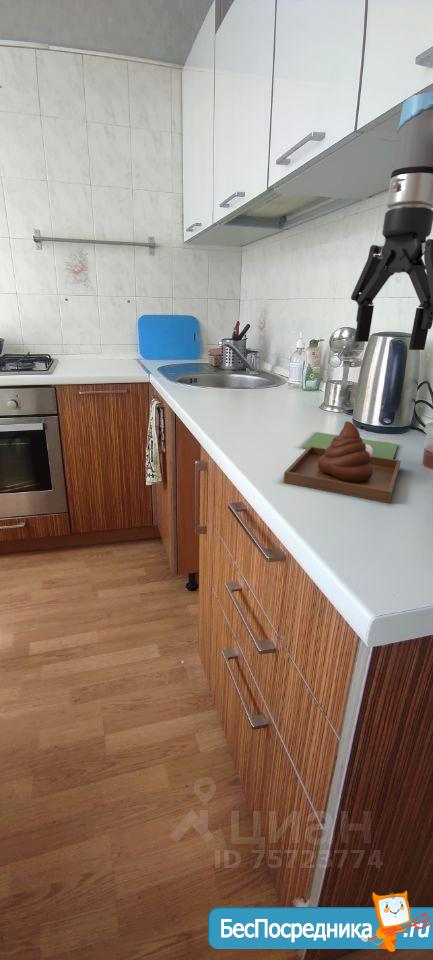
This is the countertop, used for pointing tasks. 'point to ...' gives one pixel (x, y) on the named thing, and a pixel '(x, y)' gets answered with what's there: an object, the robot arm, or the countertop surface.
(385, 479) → the tray
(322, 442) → the mat
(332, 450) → the poop emoji
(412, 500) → the countertop surface
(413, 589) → the countertop surface
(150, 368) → the countertop surface
